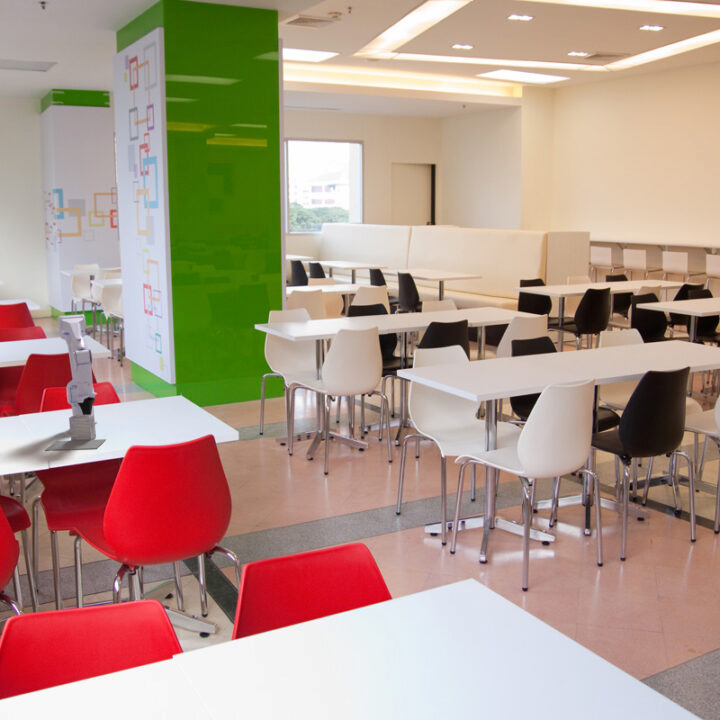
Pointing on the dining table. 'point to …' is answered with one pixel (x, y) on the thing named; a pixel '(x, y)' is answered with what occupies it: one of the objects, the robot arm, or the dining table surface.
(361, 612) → the dining table surface
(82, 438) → the medicine box
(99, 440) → the mat
